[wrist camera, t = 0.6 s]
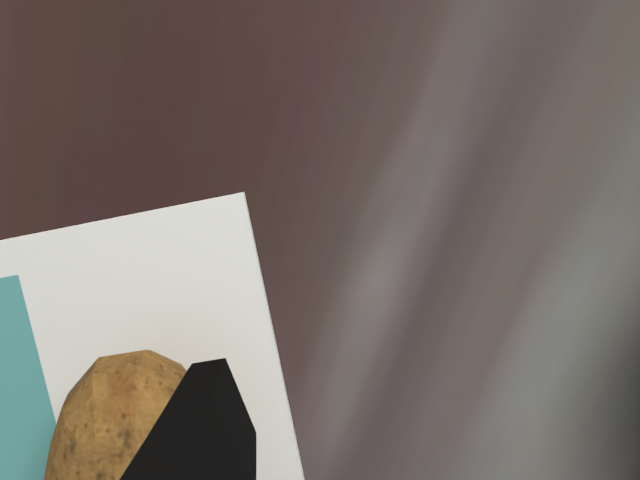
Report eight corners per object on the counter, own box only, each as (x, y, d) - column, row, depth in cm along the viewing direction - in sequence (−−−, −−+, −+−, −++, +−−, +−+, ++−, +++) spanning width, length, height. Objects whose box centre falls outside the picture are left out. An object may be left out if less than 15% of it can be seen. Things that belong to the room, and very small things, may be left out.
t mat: (324, 570, 32) (323, 574, 32) (-198, 653, 34) (-202, 658, 34) (244, 191, 30) (243, 192, 30) (-310, 301, 32) (-316, 302, 31)
